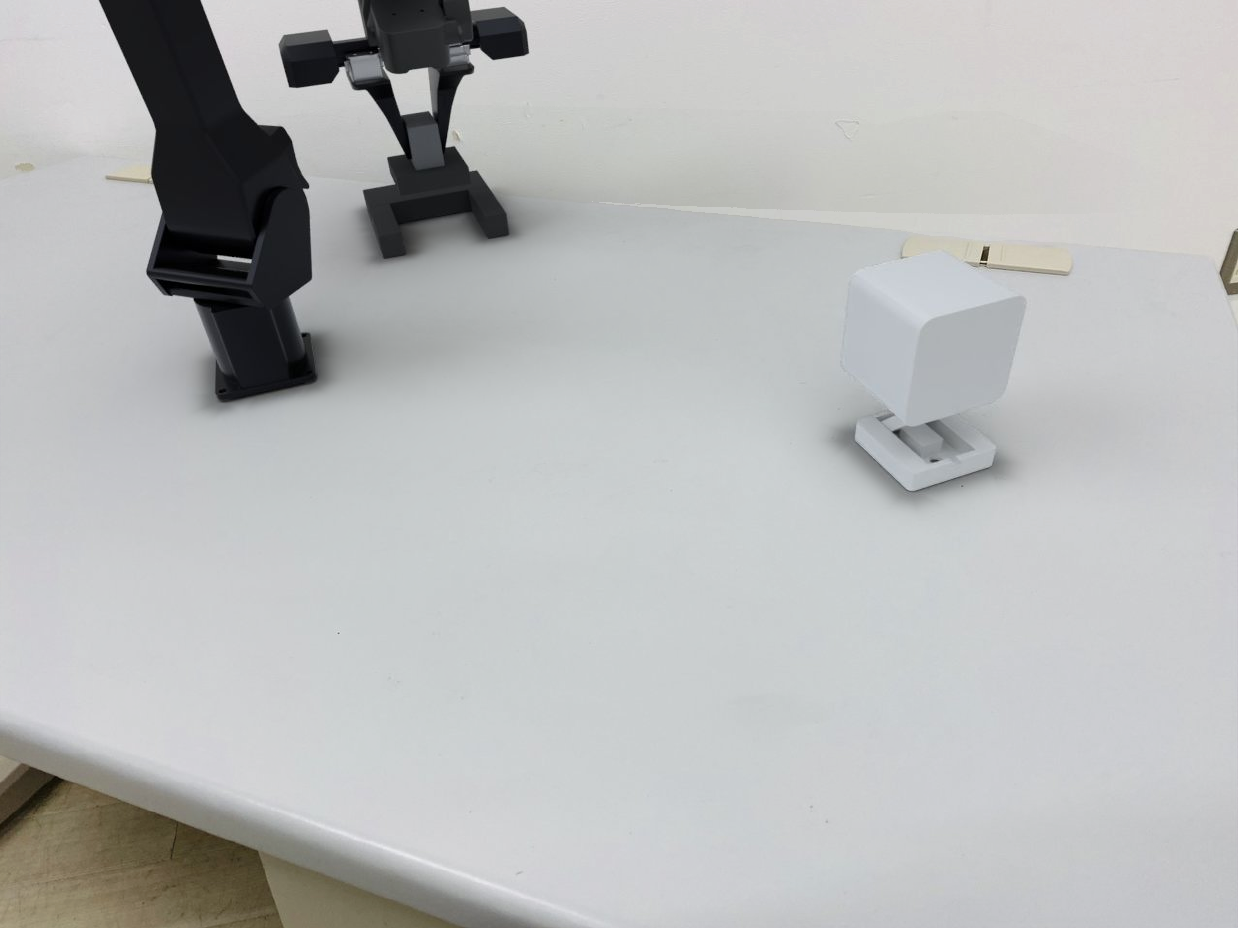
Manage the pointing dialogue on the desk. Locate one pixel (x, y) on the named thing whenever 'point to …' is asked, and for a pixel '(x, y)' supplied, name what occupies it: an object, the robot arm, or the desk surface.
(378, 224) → the black flat u-shaped piece
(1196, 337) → the desk surface
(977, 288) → the security camera
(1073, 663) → the desk surface
